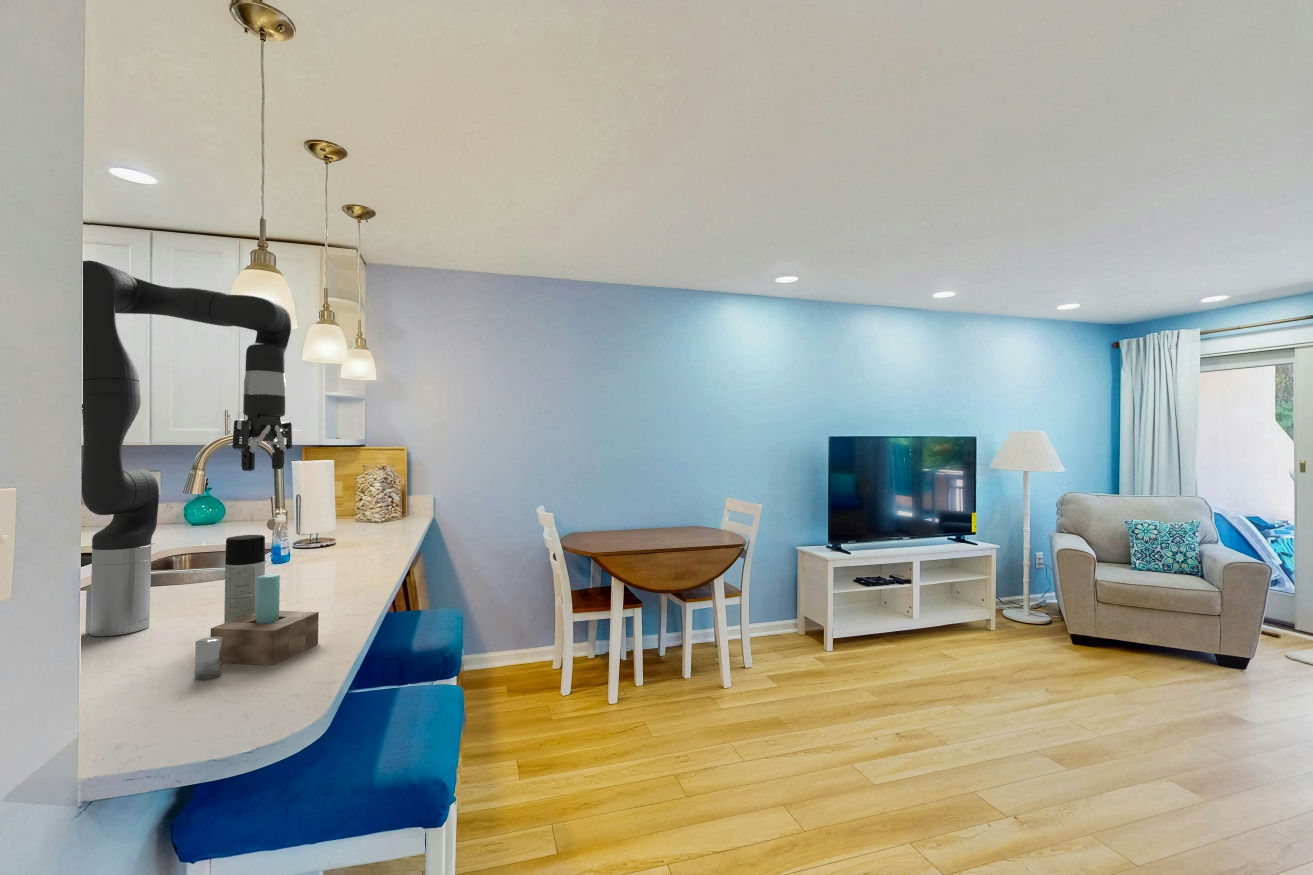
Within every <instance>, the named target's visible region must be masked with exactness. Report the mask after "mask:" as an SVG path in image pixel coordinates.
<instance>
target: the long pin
mask: <svg viewBox="0 0 1313 875" xmlns="http://www.w3.org/2000/svg"><path fill="white" fill-rule="evenodd" d="M280 580H281V575H280V574H265V575H263V576H259V577H257V600H256V623H261V624H271V623H273V622H276V621H278V620H279V611H280V591H281V590H280V588H281V587H280V586H281V585H280V584H281V581H280Z"/></svg>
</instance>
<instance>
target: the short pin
mask: <svg viewBox="0 0 1313 875" xmlns="http://www.w3.org/2000/svg"><path fill="white" fill-rule="evenodd" d="M194 651H195V652H194V655H195V656H194V680H195V681H198V682H204V681H209V680H210V681H211V680H214V679H217V678H219V677H221V676H222V675H223V674H222V673H223V671H222V670H223V669H222V668H223V663H222V637H210V636H209V637H204V638H200V639H197V640H196V641H195V649H194Z"/></svg>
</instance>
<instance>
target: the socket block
mask: <svg viewBox="0 0 1313 875" xmlns="http://www.w3.org/2000/svg"><path fill="white" fill-rule="evenodd" d="M319 613H320V612H319V611H300V610H299V611H298V610H297V611H295V610H279V620H278V621H276V622H273V623H271V624H261V623H256V612H254V613H251V614H249V615H246V616H243V617H240V618H238V619H235V620H232V621H229V622H227V623H221V624H218V625H216V626H213V627H210V636H209V637H222V664H235V665H236V664H237V665H238V664H239V665H243V664H244V665H260V666H261V665H265V666H276V665H277V664H279V663H281V662H283V661H285V660H288V659H289V658H292V657H293V656H296V655H297V654H299V653H301V652H303V651H305V650H307V649H309V648H311V647H313V646H315V645H317V644H318V643H319V618H320V616H319Z"/></svg>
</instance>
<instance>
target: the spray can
mask: <svg viewBox="0 0 1313 875" xmlns="http://www.w3.org/2000/svg"><path fill="white" fill-rule="evenodd" d="M224 564H225V565H224V566H225V567H224V573H225V574H224V577H225V578H224V617H223V618H224V620H223V622H224V623H227V622H229V621H232V620H235V619H238V618H240V617H243V616H246V615H249V614H251V613H254V612H256V600H257V577H259V576H263V575H266V536H265V535H262V534H244V535H236V536H235V535H234V536H229V537H226V539H225V561H224ZM224 623H223V624H224Z"/></svg>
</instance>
